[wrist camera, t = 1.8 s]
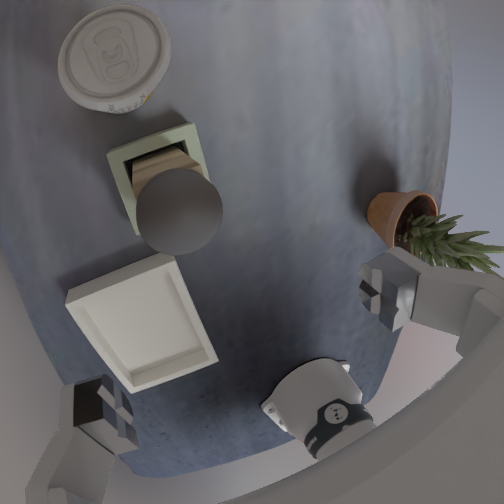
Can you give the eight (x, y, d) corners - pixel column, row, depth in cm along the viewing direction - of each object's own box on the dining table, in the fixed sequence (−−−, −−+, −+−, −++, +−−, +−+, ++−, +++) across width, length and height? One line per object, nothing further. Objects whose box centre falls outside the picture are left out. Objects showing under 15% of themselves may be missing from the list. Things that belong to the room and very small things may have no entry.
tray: (212, 346, 40) (219, 361, 38) (129, 377, 38) (131, 393, 35) (171, 248, 32) (175, 260, 30) (68, 289, 29) (64, 305, 27)
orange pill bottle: (143, 44, 22) (156, -18, 10) (162, 98, 25) (189, 81, 13) (84, 69, 21) (40, 30, 8) (103, 124, 24) (73, 132, 12)
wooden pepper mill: (192, 188, 30) (231, 237, 19) (144, 206, 29) (154, 267, 18) (177, 141, 28) (210, 159, 17) (127, 159, 27) (123, 190, 16)
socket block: (209, 197, 31) (217, 205, 29) (135, 225, 30) (136, 235, 27) (188, 122, 27) (194, 122, 25) (108, 150, 25) (105, 154, 23)
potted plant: (392, 165, 39) (548, 232, 18) (408, 212, 44) (536, 286, 24) (345, 208, 39) (506, 307, 18) (367, 254, 44) (495, 349, 24)
